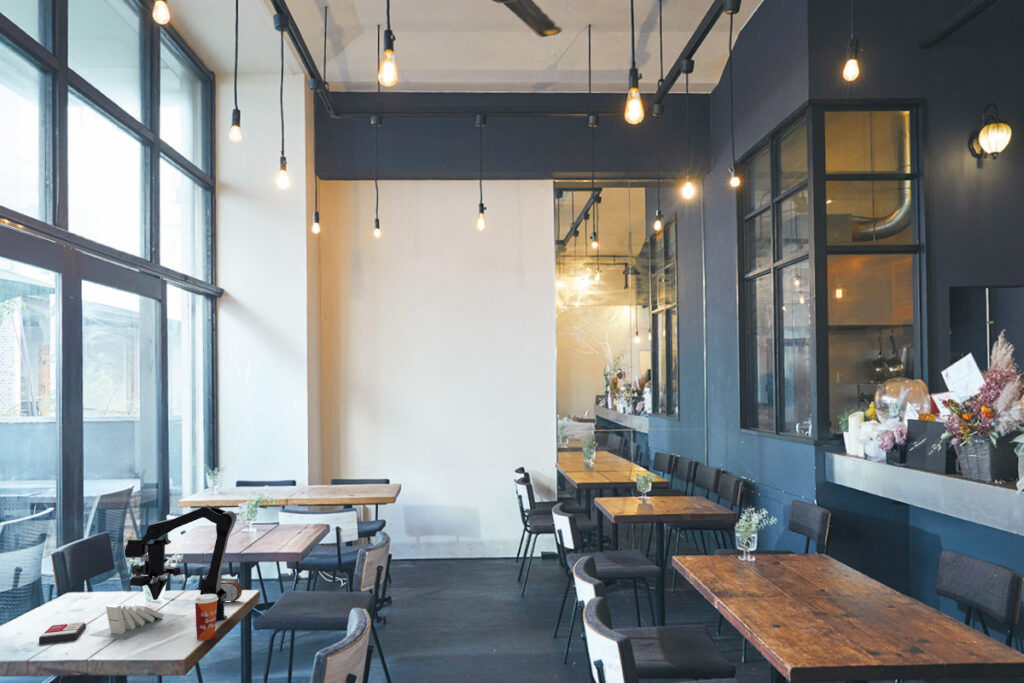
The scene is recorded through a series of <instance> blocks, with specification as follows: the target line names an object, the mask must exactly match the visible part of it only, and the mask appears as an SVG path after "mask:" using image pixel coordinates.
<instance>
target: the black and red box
mask: <svg viewBox="0 0 1024 683" xmlns="http://www.w3.org/2000/svg"><path fill="white" fill-rule="evenodd" d="M86 628H87V624H86V623H85V622H84V621H83V622H82V621H81V622H74V623H63V624H62V623H61V624H53V625H51V626H50V627H49V628H48V629H46V630H45V631H44V633H43V634H42V635H40V636H38V637H39V638H38V645H41V646H42V645H48V644H49V645H50V644H56V643H57V644H58V643H68V642H77V640H78V639H79V638H80V637H81V635H82V634H83V633H84V631H85V630H86Z"/></svg>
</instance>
